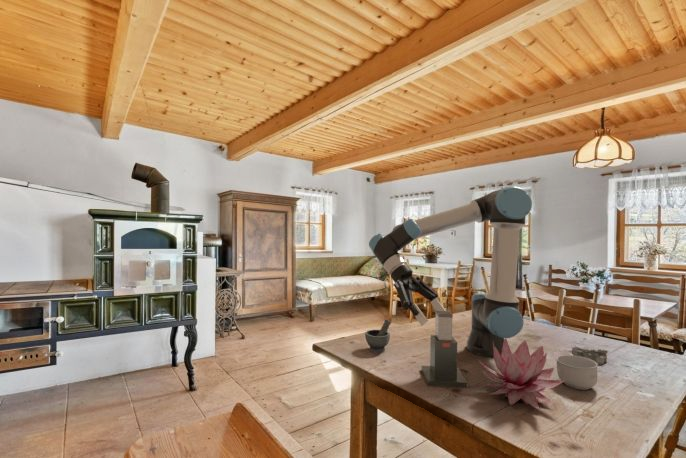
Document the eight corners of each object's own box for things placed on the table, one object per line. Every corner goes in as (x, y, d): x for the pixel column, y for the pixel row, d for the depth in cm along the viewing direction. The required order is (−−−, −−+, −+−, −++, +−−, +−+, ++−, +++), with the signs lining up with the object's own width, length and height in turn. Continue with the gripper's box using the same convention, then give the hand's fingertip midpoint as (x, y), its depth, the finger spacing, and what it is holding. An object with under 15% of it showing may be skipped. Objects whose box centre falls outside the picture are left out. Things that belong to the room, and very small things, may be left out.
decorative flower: (504, 375, 113) (505, 330, 113) (575, 403, 95) (576, 350, 95) (463, 391, 102) (464, 341, 102) (535, 427, 84) (536, 366, 84)
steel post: (448, 370, 113) (449, 311, 113) (451, 376, 108) (452, 314, 108) (434, 370, 113) (435, 310, 113) (437, 376, 108) (438, 314, 108)
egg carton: (609, 361, 127) (609, 350, 127) (601, 366, 123) (601, 354, 123) (577, 352, 136) (577, 342, 136) (569, 356, 132) (569, 346, 132)
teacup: (599, 397, 99) (599, 370, 99) (555, 387, 105) (556, 362, 105) (594, 379, 111) (594, 355, 111) (555, 371, 117) (555, 348, 117)
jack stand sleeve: (456, 371, 116) (457, 333, 116) (467, 387, 104) (467, 345, 104) (421, 369, 117) (421, 332, 117) (428, 385, 105) (428, 344, 105)
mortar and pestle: (372, 356, 129) (373, 324, 129) (360, 348, 137) (361, 318, 137) (396, 351, 134) (397, 321, 134) (383, 344, 142) (384, 316, 142)
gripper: (410, 273, 133) (445, 318, 123) (370, 279, 115) (407, 333, 105) (422, 261, 129) (459, 306, 119) (383, 265, 111) (423, 319, 101)
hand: (435, 319), depth 112 cm, fingers open, 13 cm apart
